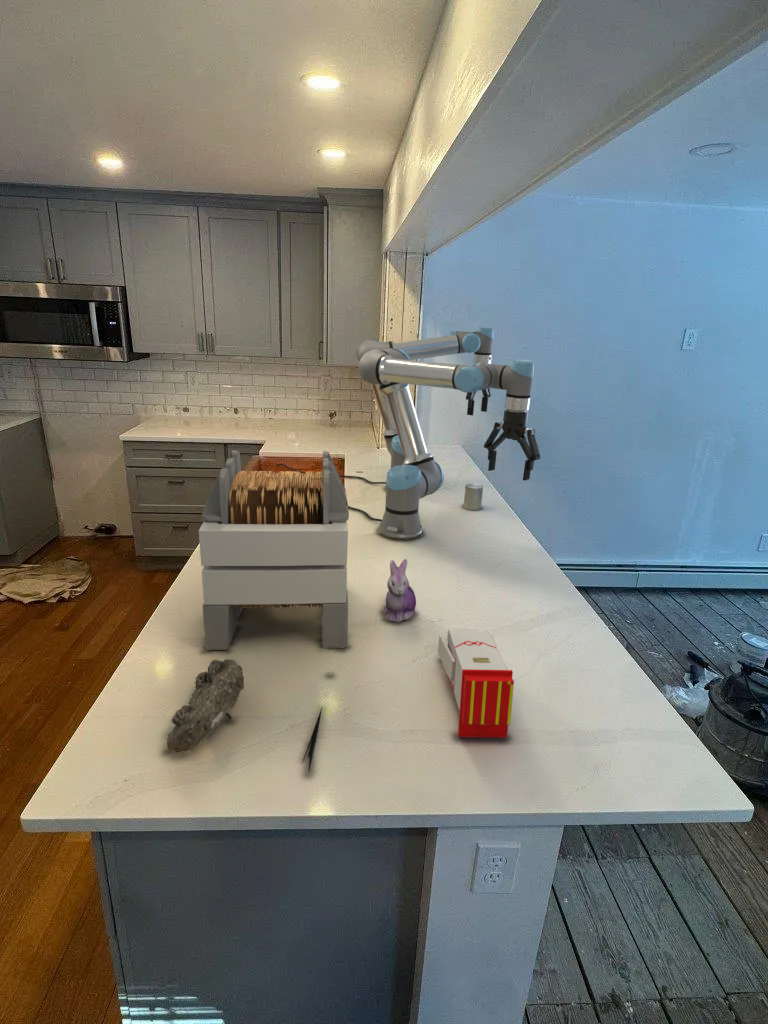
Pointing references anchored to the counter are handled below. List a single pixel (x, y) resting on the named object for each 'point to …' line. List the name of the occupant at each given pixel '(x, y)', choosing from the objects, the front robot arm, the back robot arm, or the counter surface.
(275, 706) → the counter surface
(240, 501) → the record crate
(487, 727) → the toy
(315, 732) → the feather
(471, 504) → the can
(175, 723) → the fossil
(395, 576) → the figurine
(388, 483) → the front robot arm
